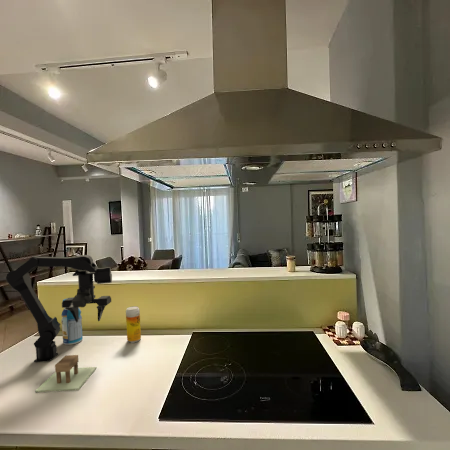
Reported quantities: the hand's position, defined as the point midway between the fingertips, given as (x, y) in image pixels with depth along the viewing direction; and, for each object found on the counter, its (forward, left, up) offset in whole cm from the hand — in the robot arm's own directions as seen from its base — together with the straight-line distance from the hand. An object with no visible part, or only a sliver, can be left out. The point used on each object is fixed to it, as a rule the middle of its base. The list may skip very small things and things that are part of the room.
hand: (88, 321), depth 126 cm
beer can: (+16, +10, -13) cm, 23 cm away
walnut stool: (+2, -22, -12) cm, 25 cm away
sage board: (+2, -22, -13) cm, 26 cm away
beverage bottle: (-13, +12, -13) cm, 22 cm away
